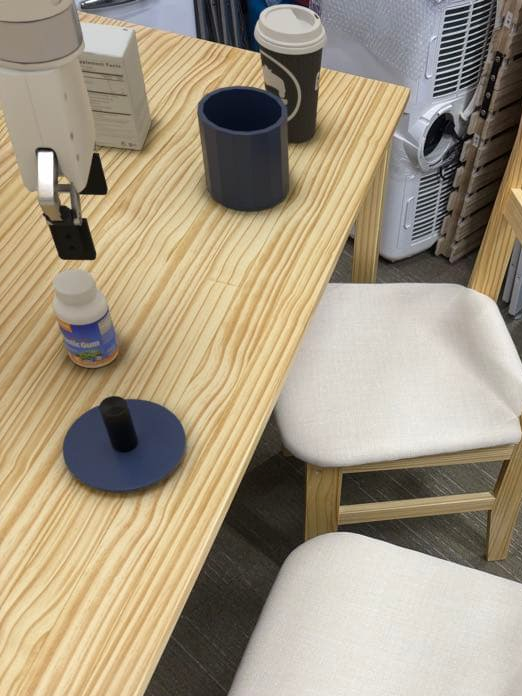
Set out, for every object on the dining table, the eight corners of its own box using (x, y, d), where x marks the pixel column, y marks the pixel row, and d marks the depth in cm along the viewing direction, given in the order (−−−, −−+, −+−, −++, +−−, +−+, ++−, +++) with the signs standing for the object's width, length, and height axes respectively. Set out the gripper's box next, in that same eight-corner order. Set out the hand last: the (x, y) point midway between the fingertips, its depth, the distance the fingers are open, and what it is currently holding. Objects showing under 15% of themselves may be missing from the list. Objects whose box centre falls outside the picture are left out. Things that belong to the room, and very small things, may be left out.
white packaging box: (100, 116, 111) (78, 19, 101) (153, 122, 112) (136, 26, 101) (87, 145, 107) (62, 48, 97) (141, 151, 108) (123, 55, 97)
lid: (56, 497, 76) (36, 454, 70) (75, 405, 82) (57, 359, 77) (182, 497, 78) (172, 454, 72) (190, 406, 84) (182, 361, 78)
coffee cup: (323, 152, 112) (325, 40, 99) (256, 146, 111) (249, 32, 98) (327, 116, 117) (328, 5, 104) (262, 110, 116) (256, -3, 104)
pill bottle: (61, 364, 85) (34, 293, 77) (80, 331, 88) (56, 259, 80) (109, 373, 85) (88, 303, 77) (127, 340, 88) (108, 269, 80)
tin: (204, 209, 102) (194, 131, 93) (209, 161, 108) (200, 83, 99) (289, 213, 104) (287, 136, 95) (289, 164, 109) (287, 88, 101)
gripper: (-4, -29, 63) (56, 169, 77) (-50, 84, 54) (28, 285, 68) (93, -24, 64) (134, 171, 78) (64, 88, 55) (117, 286, 69)
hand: (85, 224), depth 73 cm, fingers open, 9 cm apart
